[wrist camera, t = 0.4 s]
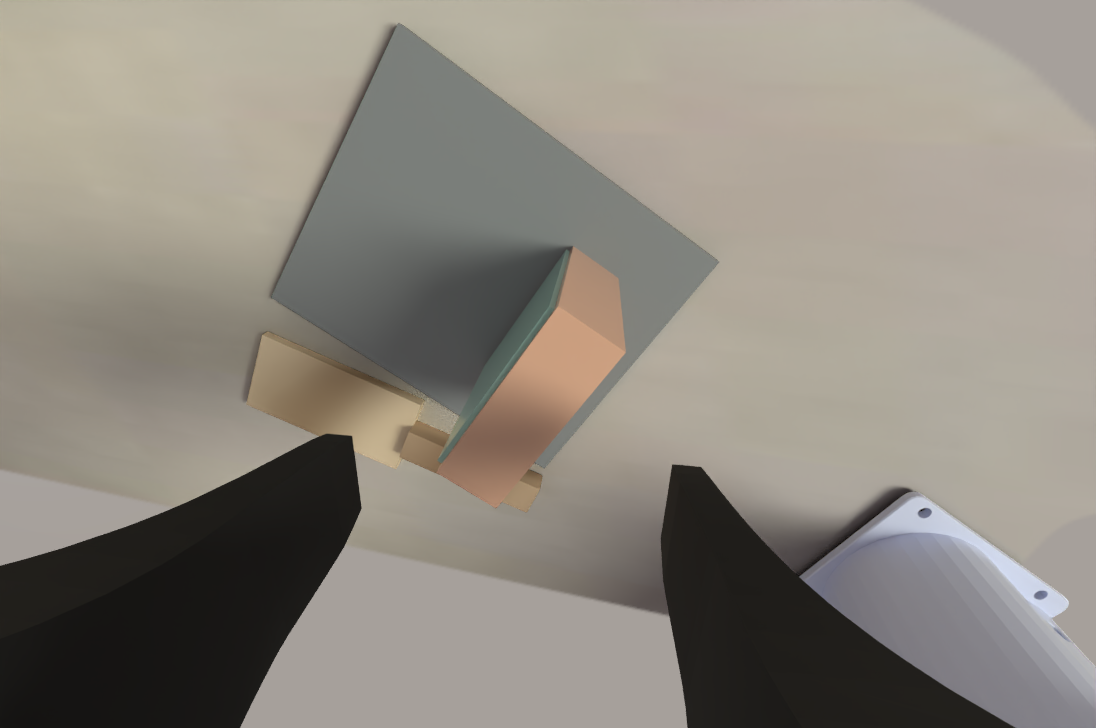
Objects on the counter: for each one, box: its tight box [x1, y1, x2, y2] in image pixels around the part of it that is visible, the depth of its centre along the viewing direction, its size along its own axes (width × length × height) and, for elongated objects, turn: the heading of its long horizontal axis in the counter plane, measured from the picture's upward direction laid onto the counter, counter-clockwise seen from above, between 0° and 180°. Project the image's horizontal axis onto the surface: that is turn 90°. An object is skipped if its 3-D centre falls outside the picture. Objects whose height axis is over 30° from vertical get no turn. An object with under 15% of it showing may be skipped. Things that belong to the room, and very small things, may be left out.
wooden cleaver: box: [246, 332, 542, 513], centre depth 23 cm, size 13×4×1 cm, turn 66°
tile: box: [436, 246, 626, 508], centre depth 17 cm, size 2×6×7 cm, turn 146°
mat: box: [271, 23, 719, 468], centre depth 20 cm, size 13×11×1 cm
